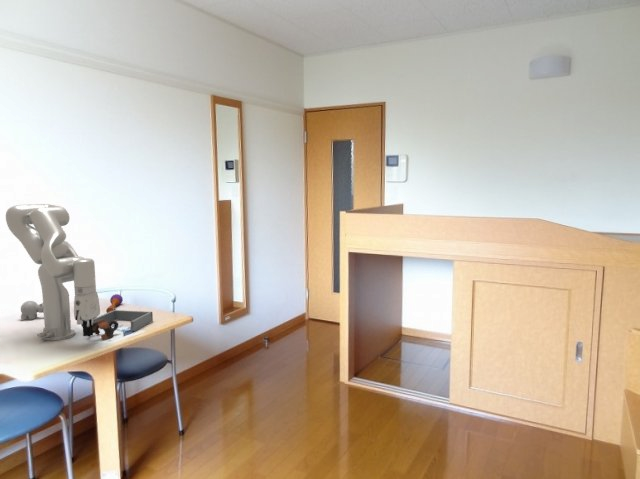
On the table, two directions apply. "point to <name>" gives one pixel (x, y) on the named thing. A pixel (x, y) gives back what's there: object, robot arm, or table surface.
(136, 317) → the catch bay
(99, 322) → the pottery mug
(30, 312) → the chubby cartoon animal
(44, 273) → the robot arm
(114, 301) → the kendama
